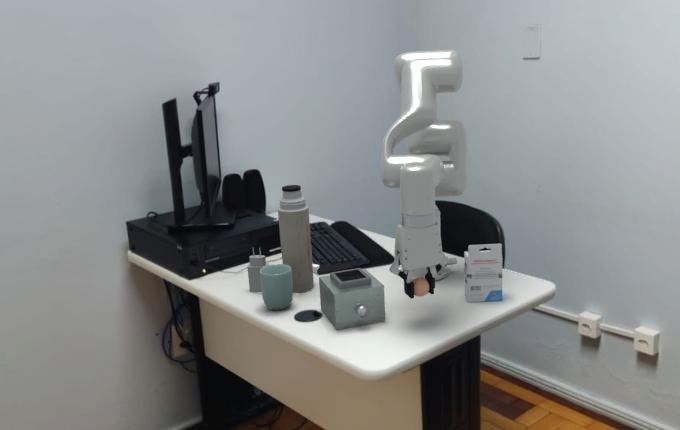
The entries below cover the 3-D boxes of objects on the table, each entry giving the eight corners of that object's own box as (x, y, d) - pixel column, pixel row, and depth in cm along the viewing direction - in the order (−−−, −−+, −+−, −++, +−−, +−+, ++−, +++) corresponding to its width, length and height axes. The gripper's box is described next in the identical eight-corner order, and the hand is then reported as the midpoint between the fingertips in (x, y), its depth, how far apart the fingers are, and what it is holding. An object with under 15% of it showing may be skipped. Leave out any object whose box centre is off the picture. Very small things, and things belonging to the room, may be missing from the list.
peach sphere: (424, 290, 145) (423, 272, 143) (432, 297, 141) (432, 280, 139) (407, 293, 143) (406, 276, 142) (415, 301, 139) (414, 283, 138)
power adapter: (252, 287, 169) (248, 245, 166) (271, 288, 168) (267, 245, 165) (249, 292, 166) (244, 249, 163) (268, 292, 165) (264, 249, 162)
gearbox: (366, 302, 155) (365, 263, 152) (388, 324, 142) (387, 282, 140) (321, 310, 152) (318, 271, 149) (339, 334, 139) (336, 291, 136)
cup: (281, 315, 150) (278, 276, 148) (256, 309, 154) (253, 272, 152) (300, 303, 156) (297, 266, 154) (275, 298, 161) (272, 262, 158)
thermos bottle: (317, 282, 170) (310, 182, 162) (309, 293, 162) (302, 189, 155) (289, 281, 171) (281, 183, 164) (280, 292, 164) (272, 189, 157)
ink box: (497, 293, 156) (498, 237, 152) (502, 301, 151) (503, 243, 148) (463, 294, 156) (463, 239, 152) (467, 302, 152) (467, 245, 148)
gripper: (444, 208, 142) (444, 281, 148) (376, 219, 137) (379, 294, 143) (460, 217, 135) (460, 293, 141) (389, 230, 130) (392, 308, 136)
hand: (419, 293), depth 142 cm, fingers closed on peach sphere, 4 cm apart
